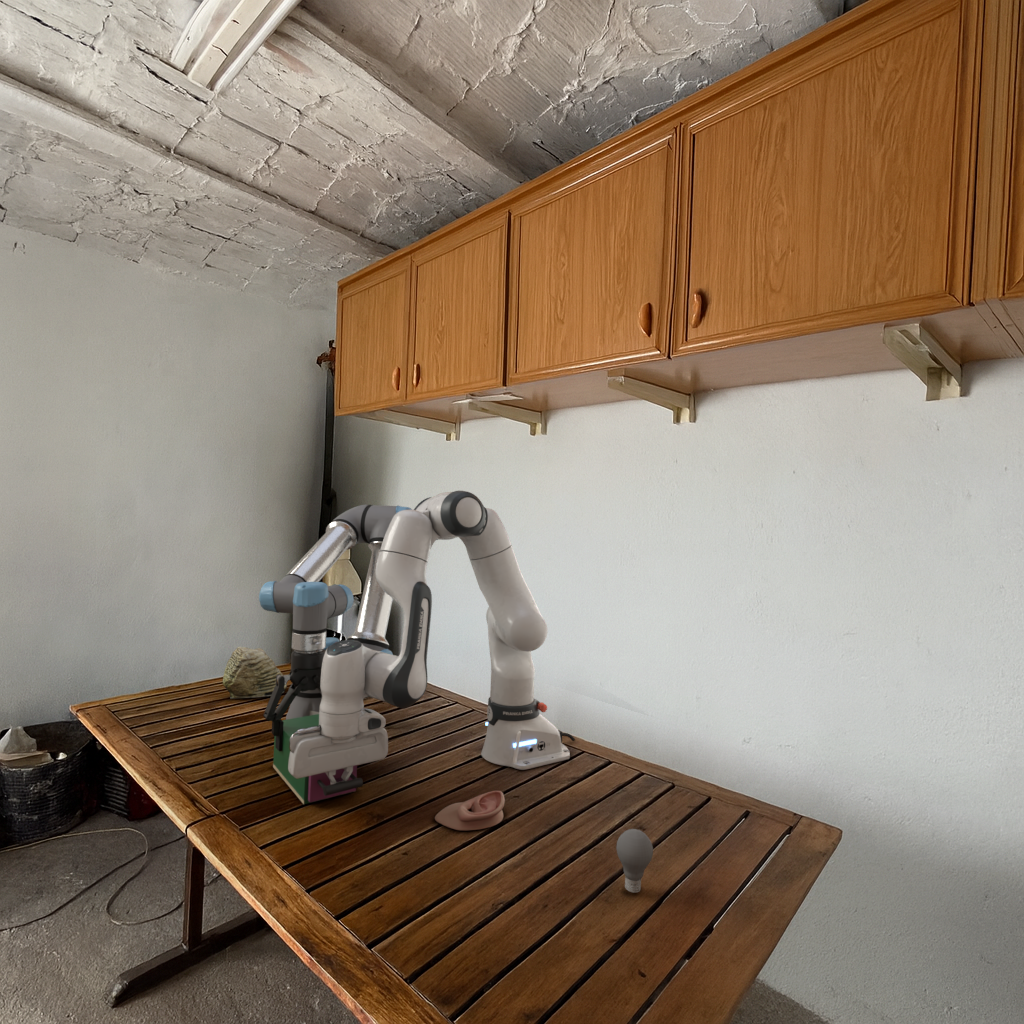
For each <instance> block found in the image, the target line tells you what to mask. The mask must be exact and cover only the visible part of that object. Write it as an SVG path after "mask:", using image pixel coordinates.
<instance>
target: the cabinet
mask: <svg viewBox="0 0 1024 1024" xmlns="http://www.w3.org/2000/svg"><path fill="white" fill-rule="evenodd" d="M281 720H282V721H283V722H284V723H283V748H282V751H278V750H277V749H276V747H275V744H276V736H274V735H273V760H272V761H273V763H272V768H273V770H274V771H276V773H277V774H278V775H279V777H280V778H281V779H282V780H283V781H284V782H285V784H286V785H287V786H288V787H289V789H290V790H291V791H292V792H293V793H294V795H295V796H296V797H297V798H298V800H299V801H300V802H301V803H302V805H309V804H311V803H316V802H318V801H320V800H318V801H314V802H309V801H308V786H309V776H307V777H303V778H298V779H296V778H294V777H293V776H292V775H291V774H290V772H289V771H288V762H289V755H290V748H289V742H290V737H291V736H292V735H293V734H294V733H295V732H297V730H299V729H302V728H304V729H305V728H309V727H313V726H319V714H316V715H310V716H305V717H299V718H293V719H287V720H286V719H281ZM296 735H298V734H296ZM354 792H356V791H353V792H349V793H345V794H341V795H337V796H333V797H329V798H326V799H331V798H334V797H338V796H342V795H346V794H351V793H354ZM326 799H325V800H326ZM323 800H324V799H322V800H321V801H323Z"/></svg>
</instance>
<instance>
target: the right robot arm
mask: <svg viewBox="0 0 1024 1024" xmlns="http://www.w3.org/2000/svg"><path fill="white" fill-rule="evenodd" d="M456 538H457V539H458V538H459V539H460V540H461V542H462V543H463V544H464V546H465V549H466V551H467V556H468V559H469V563H470V564H471V567H472V570H473V573H474V576H475V579H476V583H477V584H478V587H479V589H480V592H481V593H482V595H483V597H484V599H485V601H486V602H487V605H488V607H487V610H486V613H485V615H486V616H485V618H486V619H485V620H486V625H487V631H488V632H487V635H488V648H489V649H488V650H489V656H490V689H489V697H488V700H487V701H488V702H487V710H486V717H487V721H486V722H485V726H487V727H486V733H485V738H484V742H483V746H482V749H481V752H480V755H481V757H482V758H483V759H484V760H485V761H487V762H489V763H492V764H495V765H499V766H503V767H511V768H514V769H517V770H520V771H525V770H526V771H527V770H529V769H534V768H538V767H542V766H546V765H550V764H551V765H552V764H555V763H558V762H563V761H568V760H569V759H570V758H571V753H570V750H569V749H568V747H567V746H566V745H565V744H563V737H567V738H569V739H570V740H571V741H572V742H575V741H576V738H575V737H574V736H573V735H572V734H570V733H568V732H563V731H562V730H560V729H558V727H556V726H555V724H553V723H552V722H551V721H549V720H548V719H547V718H546V717H545V716H544V715H543V714H541V713H546V712H547V710H548V706H547V704H545V703H544V702H541V701H539V700H538V699H536V698H535V697H534V696H535V681H536V680H535V678H536V669H535V668H536V667H535V664H534V661H533V656H532V652H533V651H536V650H537V649H539V648H540V647H541V646H542V645H543V644H544V643H545V642H546V639H547V637H548V624H547V622H546V620H545V619H544V616H543V615H542V613H541V611H540V608H539V607H538V604H537V602H536V600H535V598H534V596H533V593H532V592H531V590H530V588H529V586H528V584H527V582H526V580H525V577H524V576H523V573H522V571H521V568H520V565H519V562H518V560H517V556H516V554H515V551H514V547H513V545H512V542H511V539H510V537H509V534H508V531H507V529H506V527H505V525H504V523H503V521H502V519H501V518H500V516H499V514H498V513H497V512H496V510H494V509H492V508H489V507H485V506H484V504H483V502H482V501H481V499H480V498H479V497H478V496H477V495H476V494H474V493H473V492H469V491H466V490H454V491H447V492H446V491H445V492H441V493H438V494H436V495H434V496H430V497H427V498H424V499H422V500H421V501H420V502H419V503H418V504H417V505H415V507H414V509H412V510H402V511H399V512H398V513H396V514H395V515H394V517H393V519H392V521H391V523H390V525H389V527H388V529H387V531H386V534H385V536H384V539H383V542H382V545H381V549H380V552H379V556H378V559H377V563H376V579H377V582H378V584H379V585H380V587H381V588H382V589H383V591H384V592H385V593H386V594H388V595H389V596H390V597H392V598H393V601H396V603H397V604H398V605H399V606H400V608H401V610H402V612H403V618H404V619H403V629H402V638H401V645H400V646H401V647H400V653H399V655H395V654H393V655H391V654H387V653H384V652H380V651H376V650H372V649H369V648H367V647H365V646H363V644H362V643H361V642H359V641H356V640H347V639H345V640H339V642H336V643H333V644H332V645H330V646H329V647H328V648H327V649H326V651H325V654H324V657H323V662H322V668H321V681H320V688H321V692H322V700H321V703H320V707H319V726H313V727H309V728H305V729H304V728H302V729H299V730H297V732H295V733H294V734H293V735H292V736H291V737H290V742H289V748H290V755H289V762H288V771H289V772H290V774H291V775H292V776H293V777H294V778H296V779H298V778H303V777H307V776H312V775H316V774H320V773H326V774H327V776H328V778H329V779H330V785H332V784H336V783H340V782H344V781H347V780H348V778H349V777H350V775H351V773H352V772H353V766H356V765H357V766H359V765H364V764H369V763H373V762H377V761H378V762H379V761H382V760H385V758H386V757H387V756H388V753H389V735H388V732H387V729H386V728H385V726H386V723H387V719H386V718H385V717H384V716H383V715H382V714H380V713H379V712H377V711H376V710H374V709H371V708H367V707H366V708H365V703H364V700H365V699H366V698H365V697H368V698H371V699H375V700H378V701H381V702H382V701H383V702H385V703H387V704H389V705H392V706H393V707H396V708H398V709H406V708H410V707H411V706H413V705H414V704H416V703H417V702H419V700H421V698H422V697H423V696H424V695H425V692H426V690H427V687H428V649H429V640H430V639H429V638H430V629H431V620H432V610H433V609H432V608H433V607H432V606H433V596H432V595H433V594H432V591H431V588H430V586H429V585H428V583H427V566H428V562H429V558H430V554H431V553H430V552H431V550H432V547H433V545H434V543H436V541H439V540H440V541H441V540H443V541H449V540H453V539H456ZM364 698H365V699H364ZM296 734H298V735H296ZM338 769H344V772H343V774H342V776H341V778H337V779H335V778H334V777H333V775H335V774H336V770H338Z"/></svg>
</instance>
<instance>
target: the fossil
mask: <svg viewBox="0 0 1024 1024" xmlns="http://www.w3.org/2000/svg"><path fill="white" fill-rule="evenodd" d="M278 674H280V675H283V673H282V672H281V669H279V668H278V667H277V665H276V663H275V662H274V660H273V659H272V658H271V657H270V656H269V655H268V654H267V653H266V652H265V650H264V649H263V648H260V647H258V648H251V647H247V646H246V647H245V646H238V647H237V648H236V649H235V650H233V651H232V653H231V656H230V657H229V659H228V660H227V663H226V666H225V668H224V671H223V675H222V676H223V677H222V685H223V687H224V688H225V690H226V691H228V693H229V698H230V699H250V698H264V697H271V695H272V692H273V690H274V687H275V685H276V676H277V675H278ZM287 687H288V686H287V684H286V685H284V690H283V692H282V694H284V693H285V691H286V689H287Z"/></svg>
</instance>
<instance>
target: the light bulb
mask: <svg viewBox="0 0 1024 1024" xmlns="http://www.w3.org/2000/svg"><path fill="white" fill-rule="evenodd" d="M615 849H616V854H617V857H618V859H619V861H620V863H621V865H622V867H623V873H624V874H623V875H624V876H625V878H624V888H625V890H627V891H628V892H630V893H634V894H635V893H639V892H640V891H641V889H642V887H641V886H642V879H643V877H644V875H645V871H646V868H647V867H648V866H649V864H650V863H651V861H652V859H653V855H654V847H653V843H652V841H651V838H649V836H648V835H647V834H646V833H645V832H643V831H642V830H641V829H636V828H629V829H627V830H625V831H623V832H622V833H621V834H620V835H619V837H618V839H617V841H616V847H615Z"/></svg>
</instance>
